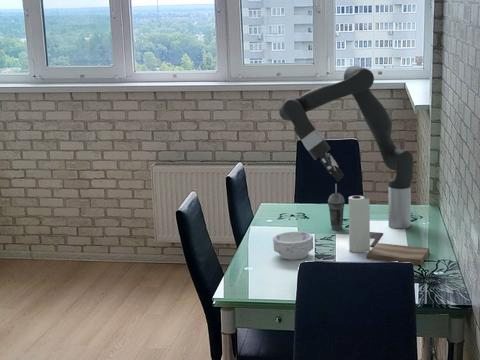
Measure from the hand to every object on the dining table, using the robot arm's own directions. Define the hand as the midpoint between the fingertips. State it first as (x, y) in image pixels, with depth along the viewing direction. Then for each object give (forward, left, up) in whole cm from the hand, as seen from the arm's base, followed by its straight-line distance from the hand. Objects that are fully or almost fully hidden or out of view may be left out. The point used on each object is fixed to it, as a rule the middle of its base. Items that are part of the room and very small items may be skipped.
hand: (340, 178), depth 268 cm
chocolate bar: (-16, +5, -29) cm, 33 cm away
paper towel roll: (-1, +6, -29) cm, 29 cm away
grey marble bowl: (+13, -15, -29) cm, 35 cm away
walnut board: (0, +22, -28) cm, 36 cm away
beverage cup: (-27, -12, -29) cm, 41 cm away
